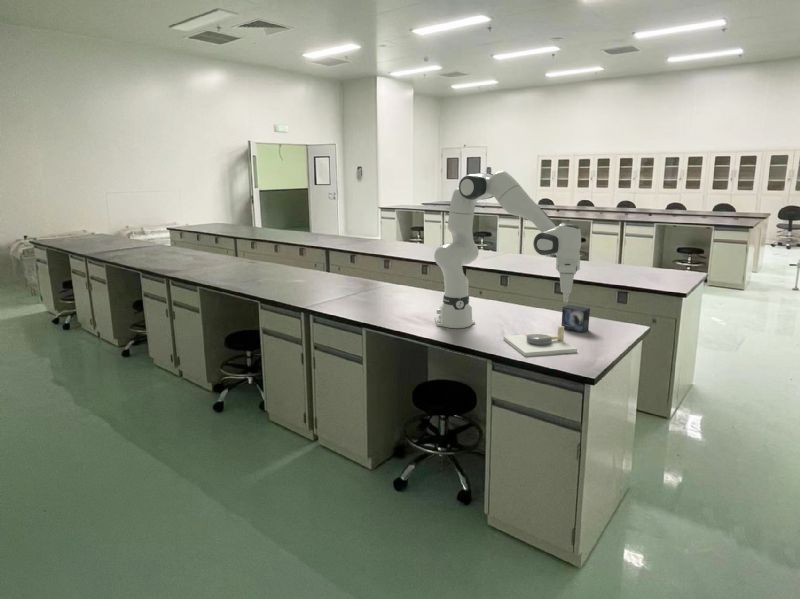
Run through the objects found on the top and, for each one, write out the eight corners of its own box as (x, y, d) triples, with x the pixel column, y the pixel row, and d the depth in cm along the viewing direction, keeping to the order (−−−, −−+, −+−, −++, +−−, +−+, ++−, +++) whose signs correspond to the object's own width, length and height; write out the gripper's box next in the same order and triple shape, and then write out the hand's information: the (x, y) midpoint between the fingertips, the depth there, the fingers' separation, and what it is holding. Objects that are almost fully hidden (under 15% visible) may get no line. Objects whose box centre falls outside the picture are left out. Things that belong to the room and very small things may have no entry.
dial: (532, 345, 208) (533, 332, 207) (522, 338, 217) (523, 325, 216) (569, 343, 211) (569, 329, 209) (557, 336, 220) (558, 323, 219)
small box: (560, 328, 237) (561, 306, 235) (567, 325, 242) (568, 304, 239) (582, 333, 230) (583, 310, 228) (589, 330, 234) (590, 307, 232)
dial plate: (503, 339, 223) (503, 336, 222) (551, 336, 227) (551, 332, 226) (524, 356, 202) (525, 352, 201) (577, 352, 205) (577, 348, 205)
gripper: (560, 261, 214) (559, 293, 217) (558, 269, 195) (556, 304, 198) (576, 261, 212) (575, 294, 215) (575, 269, 193) (573, 305, 196)
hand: (566, 299), depth 206 cm, fingers open, 8 cm apart
